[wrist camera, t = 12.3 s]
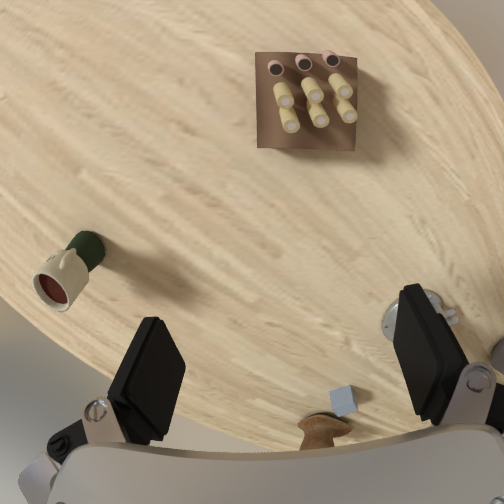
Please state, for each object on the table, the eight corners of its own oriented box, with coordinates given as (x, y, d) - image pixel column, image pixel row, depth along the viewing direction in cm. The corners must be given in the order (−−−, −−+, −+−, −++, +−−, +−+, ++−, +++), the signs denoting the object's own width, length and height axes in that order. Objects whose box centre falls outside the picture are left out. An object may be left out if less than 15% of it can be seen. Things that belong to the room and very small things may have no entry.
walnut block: (345, 62, 30) (357, 57, 25) (344, 143, 35) (354, 151, 31) (256, 57, 30) (255, 52, 26) (258, 141, 36) (257, 148, 31)
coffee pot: (513, 323, 50) (539, 364, 37) (520, 338, 53) (542, 375, 40) (454, 375, 60) (472, 419, 47) (466, 384, 63) (482, 424, 50)
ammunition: (360, 122, 25) (342, 44, 21) (285, 135, 26) (264, 56, 22) (348, 118, 29) (332, 50, 25) (283, 129, 30) (265, 61, 26)
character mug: (84, 209, 41) (36, 251, 30) (118, 234, 43) (78, 283, 32) (67, 255, 46) (28, 300, 34) (98, 277, 48) (63, 326, 36)
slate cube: (349, 384, 60) (353, 402, 55) (355, 393, 62) (358, 410, 58) (329, 391, 61) (331, 409, 57) (335, 400, 63) (337, 417, 59)
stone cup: (286, 422, 70) (286, 471, 57) (321, 406, 65) (326, 459, 52) (320, 435, 74) (323, 478, 61) (353, 421, 70) (360, 467, 57)
